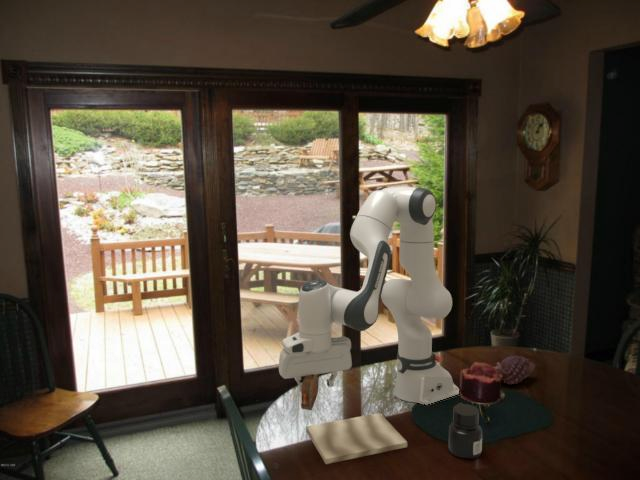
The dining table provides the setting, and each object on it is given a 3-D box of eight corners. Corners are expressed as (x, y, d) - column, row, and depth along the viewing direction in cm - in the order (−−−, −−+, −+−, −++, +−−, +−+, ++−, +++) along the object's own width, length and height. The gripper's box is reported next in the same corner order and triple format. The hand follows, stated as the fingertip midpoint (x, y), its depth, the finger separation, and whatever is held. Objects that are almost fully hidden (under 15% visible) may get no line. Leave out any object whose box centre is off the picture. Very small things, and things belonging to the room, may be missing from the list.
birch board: (379, 417, 163) (379, 412, 163) (407, 447, 146) (407, 442, 146) (306, 431, 156) (306, 426, 155) (325, 464, 139) (325, 459, 138)
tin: (309, 415, 137) (312, 385, 135) (297, 414, 137) (300, 383, 136) (318, 392, 151) (321, 364, 150) (308, 390, 152) (310, 362, 151)
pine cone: (525, 373, 193) (526, 347, 192) (544, 384, 184) (546, 357, 182) (484, 381, 187) (485, 354, 186) (502, 392, 178) (504, 364, 177)
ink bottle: (484, 461, 138) (485, 419, 137) (449, 459, 140) (450, 417, 138) (479, 442, 148) (480, 402, 146) (447, 440, 149) (447, 400, 147)
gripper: (346, 332, 149) (347, 378, 151) (276, 340, 142) (277, 388, 144) (355, 339, 143) (355, 387, 145) (282, 348, 136) (283, 398, 138)
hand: (316, 388), depth 144 cm, fingers open, 7 cm apart
